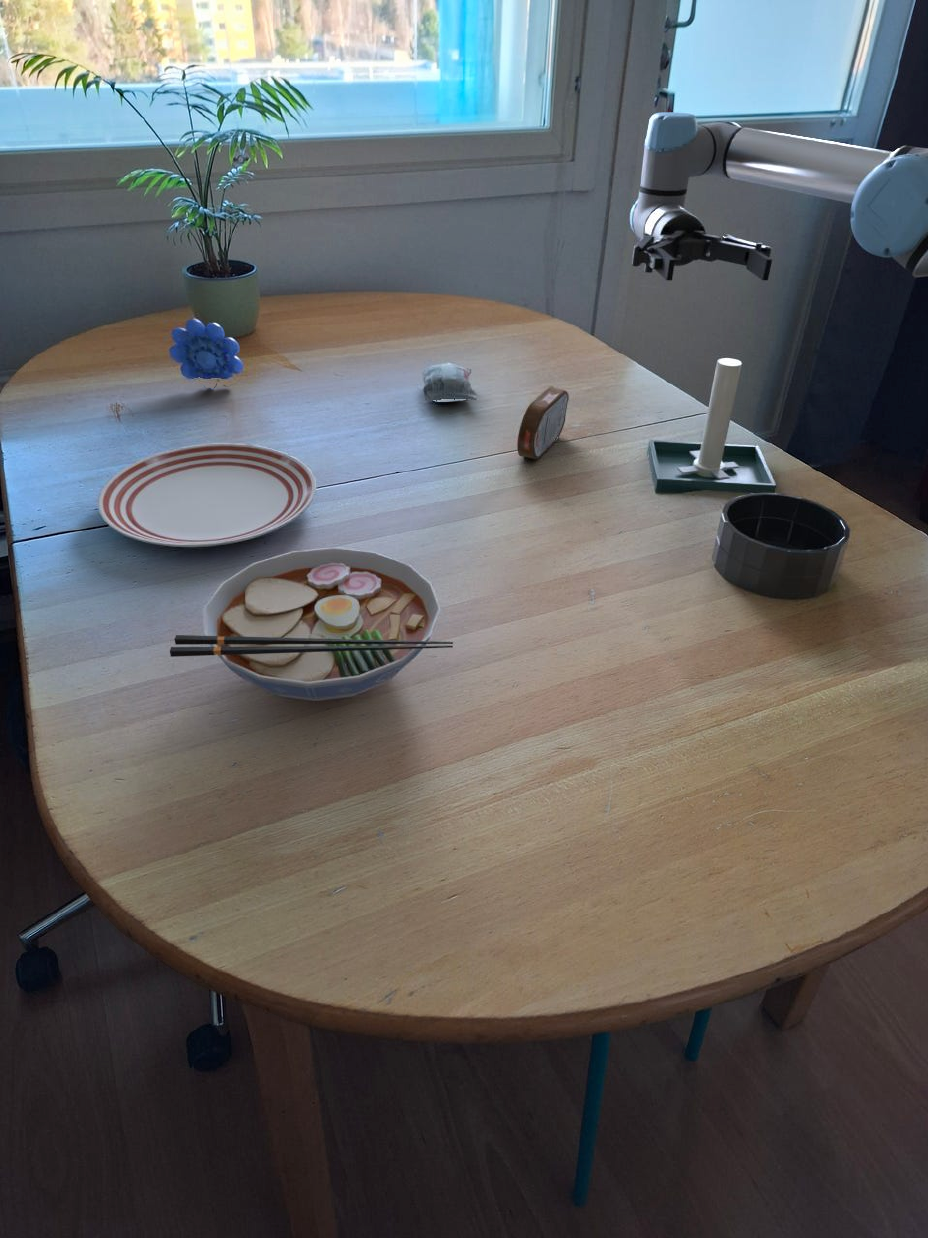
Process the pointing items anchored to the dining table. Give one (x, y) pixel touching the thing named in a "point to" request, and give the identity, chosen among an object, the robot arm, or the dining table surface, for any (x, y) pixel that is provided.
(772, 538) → the bowl
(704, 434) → the blade
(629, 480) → the dining table surface
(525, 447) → the tin
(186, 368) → the blue flower rosette
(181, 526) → the dinner plate
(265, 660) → the ramen bowl
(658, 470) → the tray
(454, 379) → the packaged food
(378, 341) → the dining table surface
